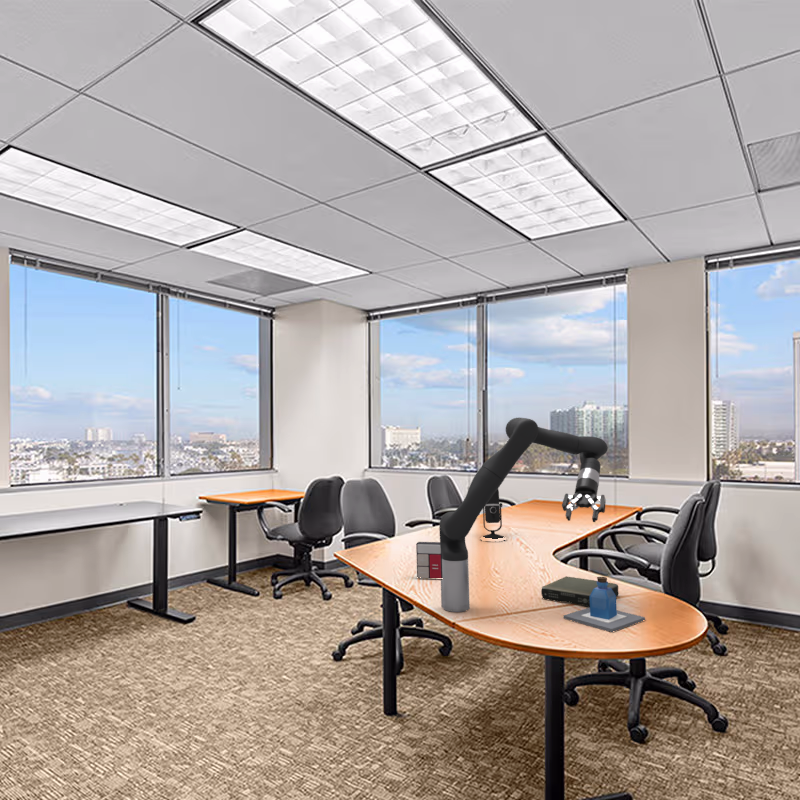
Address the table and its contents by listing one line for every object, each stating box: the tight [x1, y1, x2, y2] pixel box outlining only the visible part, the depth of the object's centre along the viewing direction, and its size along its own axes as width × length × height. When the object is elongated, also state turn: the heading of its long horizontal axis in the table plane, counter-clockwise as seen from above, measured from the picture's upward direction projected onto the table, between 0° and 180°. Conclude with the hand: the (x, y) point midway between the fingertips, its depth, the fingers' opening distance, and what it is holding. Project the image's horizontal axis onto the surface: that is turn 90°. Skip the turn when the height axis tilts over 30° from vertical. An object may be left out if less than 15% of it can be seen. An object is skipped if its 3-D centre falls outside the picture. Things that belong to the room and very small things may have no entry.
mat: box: [562, 607, 646, 633], centre depth 192 cm, size 18×18×1 cm
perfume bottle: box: [590, 576, 618, 620], centre depth 193 cm, size 6×6×12 cm
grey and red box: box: [415, 541, 443, 578], centre depth 253 cm, size 11×4×15 cm, turn 76°
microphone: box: [482, 488, 505, 539], centre depth 343 cm, size 16×16×30 cm
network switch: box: [540, 576, 620, 608], centre depth 219 cm, size 23×23×5 cm
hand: (580, 519), depth 203 cm, fingers open, 8 cm apart
